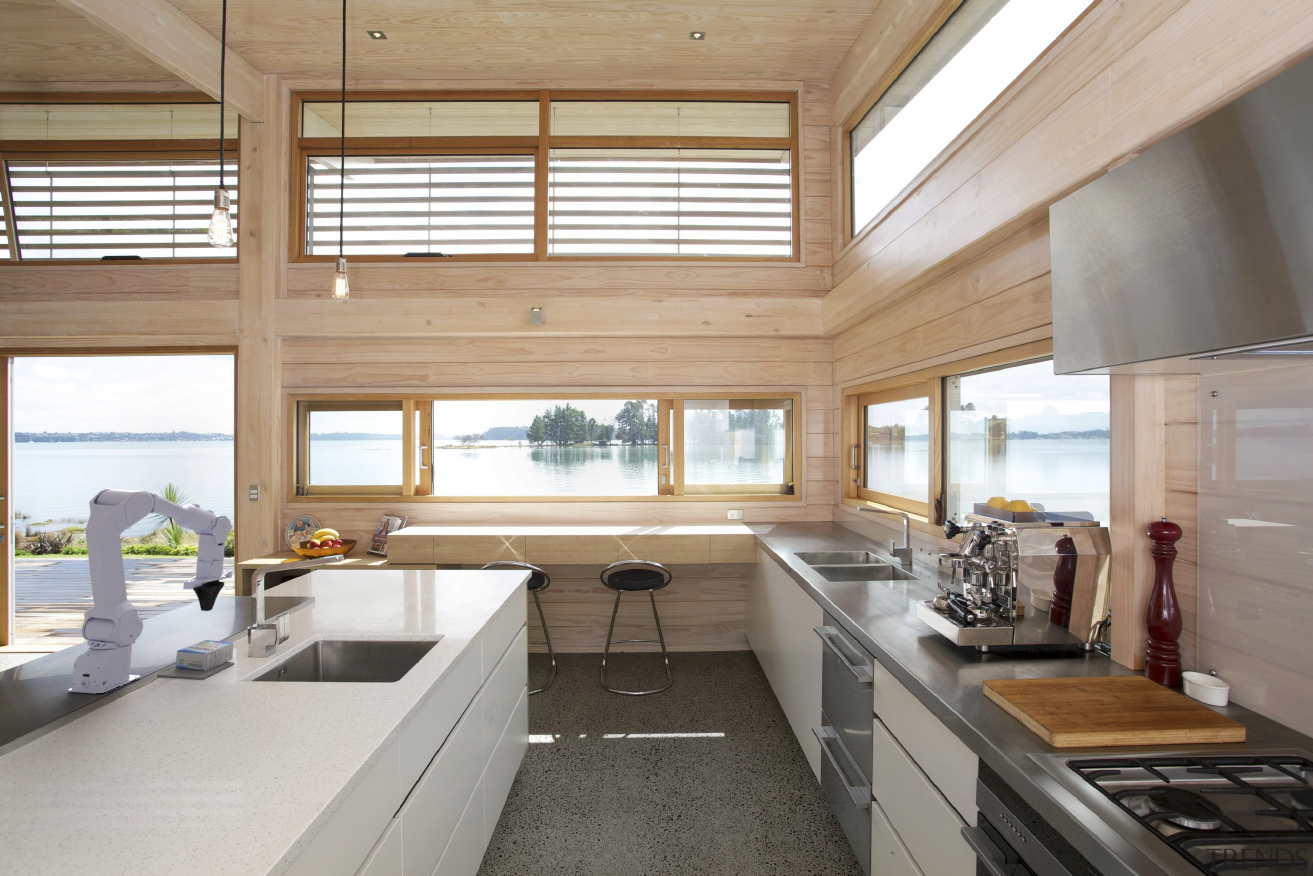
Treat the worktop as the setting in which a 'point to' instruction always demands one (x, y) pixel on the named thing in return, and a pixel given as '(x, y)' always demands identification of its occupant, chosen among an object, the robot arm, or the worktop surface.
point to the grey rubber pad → (194, 672)
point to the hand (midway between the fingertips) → (206, 610)
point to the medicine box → (204, 655)
